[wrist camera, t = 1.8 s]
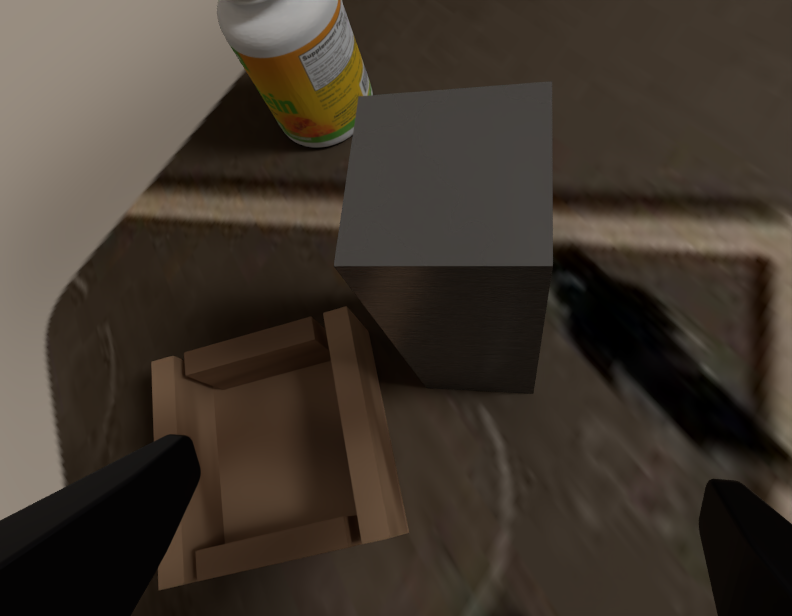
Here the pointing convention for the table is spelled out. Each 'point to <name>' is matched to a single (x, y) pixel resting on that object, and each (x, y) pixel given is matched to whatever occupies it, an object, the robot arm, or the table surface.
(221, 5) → the supplement bottle
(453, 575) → the table surface
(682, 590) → the table surface
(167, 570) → the wooden square frame
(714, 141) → the table surface
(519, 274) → the steel square block
